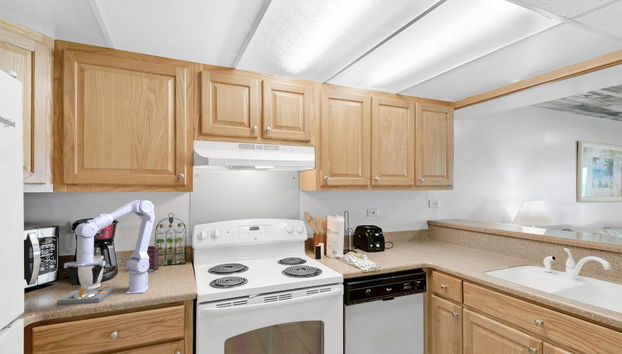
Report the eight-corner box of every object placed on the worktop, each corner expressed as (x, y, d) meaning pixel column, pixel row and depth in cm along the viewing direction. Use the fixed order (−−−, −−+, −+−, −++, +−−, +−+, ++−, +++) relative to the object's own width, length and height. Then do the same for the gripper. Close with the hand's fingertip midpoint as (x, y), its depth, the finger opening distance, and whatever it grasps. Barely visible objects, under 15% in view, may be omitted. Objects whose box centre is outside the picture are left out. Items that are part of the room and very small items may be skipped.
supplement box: (158, 270, 180) (159, 244, 181) (154, 273, 175) (154, 246, 176) (145, 270, 181) (145, 244, 181) (140, 272, 176) (140, 245, 176)
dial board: (74, 294, 140) (74, 289, 140) (112, 292, 143) (112, 287, 144) (57, 305, 128) (57, 299, 128) (98, 302, 131) (98, 297, 131)
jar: (104, 287, 150) (105, 257, 150) (78, 292, 143) (79, 261, 144) (101, 282, 158) (102, 254, 158) (76, 287, 151) (77, 257, 152)
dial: (80, 293, 139) (81, 282, 139) (102, 292, 141) (102, 280, 141) (69, 300, 130) (69, 288, 130) (92, 299, 132) (92, 287, 132)
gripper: (59, 254, 121) (59, 288, 121) (100, 252, 125) (99, 285, 124) (69, 250, 128) (69, 282, 128) (107, 249, 131) (107, 280, 131)
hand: (84, 284), depth 126 cm, fingers open, 7 cm apart
